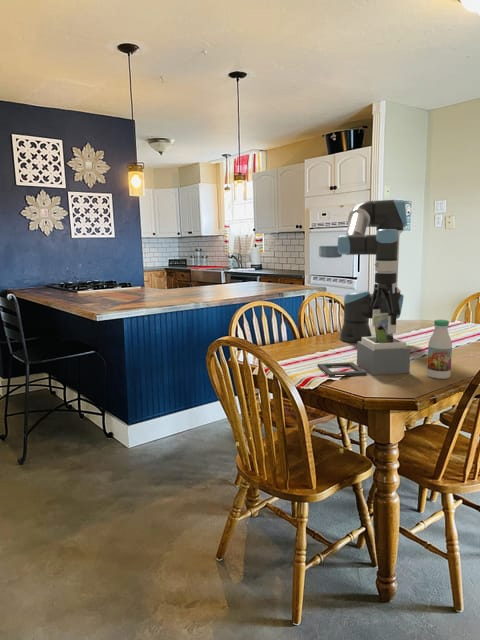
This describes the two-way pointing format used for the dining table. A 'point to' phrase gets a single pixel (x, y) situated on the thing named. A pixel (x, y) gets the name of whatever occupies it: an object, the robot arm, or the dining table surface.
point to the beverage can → (382, 328)
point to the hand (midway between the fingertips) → (383, 329)
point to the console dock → (383, 356)
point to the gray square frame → (351, 373)
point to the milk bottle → (439, 351)
